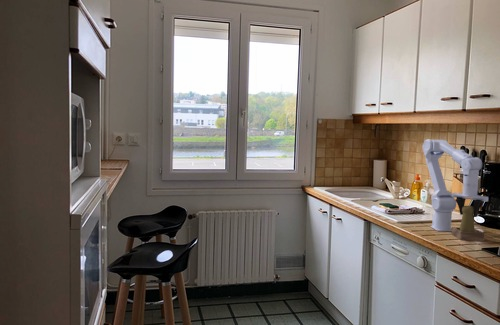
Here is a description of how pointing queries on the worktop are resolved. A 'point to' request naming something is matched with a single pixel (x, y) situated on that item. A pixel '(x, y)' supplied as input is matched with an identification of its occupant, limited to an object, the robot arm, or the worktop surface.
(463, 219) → the cork
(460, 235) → the holder
